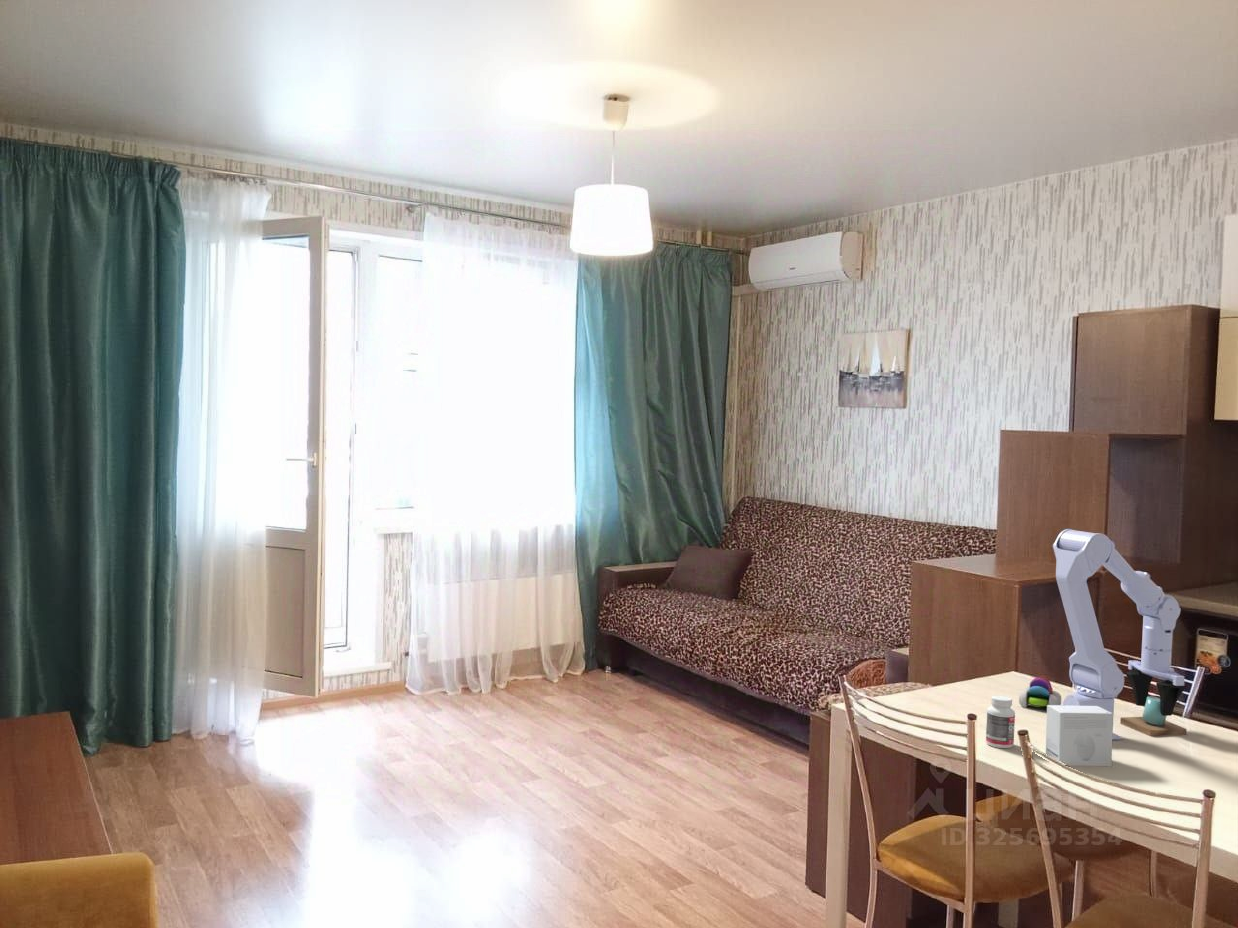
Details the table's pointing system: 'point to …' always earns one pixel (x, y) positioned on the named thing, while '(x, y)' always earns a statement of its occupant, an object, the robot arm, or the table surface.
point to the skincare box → (1079, 735)
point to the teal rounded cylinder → (1153, 711)
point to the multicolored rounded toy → (1039, 693)
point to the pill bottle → (1000, 723)
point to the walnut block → (1152, 727)
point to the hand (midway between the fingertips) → (1153, 710)
